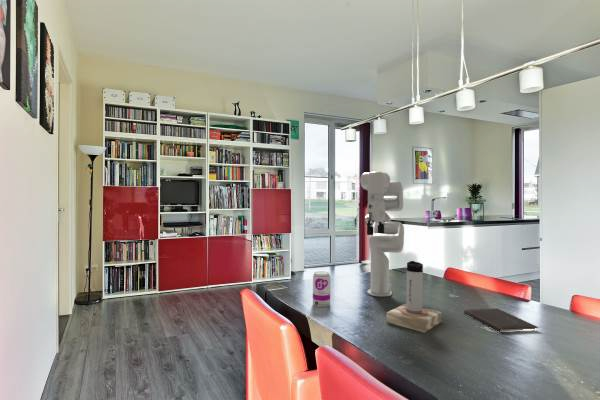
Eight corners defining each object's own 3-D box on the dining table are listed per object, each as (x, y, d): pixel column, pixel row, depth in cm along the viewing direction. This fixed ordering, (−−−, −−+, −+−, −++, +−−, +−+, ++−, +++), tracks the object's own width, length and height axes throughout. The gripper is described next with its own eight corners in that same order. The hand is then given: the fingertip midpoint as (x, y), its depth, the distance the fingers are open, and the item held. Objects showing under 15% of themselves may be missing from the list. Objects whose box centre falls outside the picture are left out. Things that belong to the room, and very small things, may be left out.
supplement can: (329, 308, 164) (329, 275, 164) (311, 306, 165) (311, 274, 165) (331, 302, 172) (331, 271, 171) (314, 301, 173) (314, 270, 173)
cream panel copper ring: (404, 312, 157) (404, 303, 157) (441, 321, 146) (441, 311, 146) (386, 322, 145) (386, 311, 145) (424, 332, 135) (424, 321, 135)
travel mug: (418, 308, 150) (418, 260, 149) (424, 313, 143) (425, 264, 143) (403, 308, 149) (404, 260, 149) (409, 314, 143) (410, 264, 142)
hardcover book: (497, 313, 159) (497, 308, 159) (538, 332, 136) (538, 326, 136) (463, 314, 157) (463, 309, 157) (499, 334, 134) (499, 328, 134)
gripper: (373, 198, 160) (372, 236, 160) (392, 198, 173) (391, 233, 173) (359, 197, 165) (358, 234, 165) (378, 198, 178) (378, 232, 178)
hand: (375, 234), depth 169 cm, fingers open, 9 cm apart
